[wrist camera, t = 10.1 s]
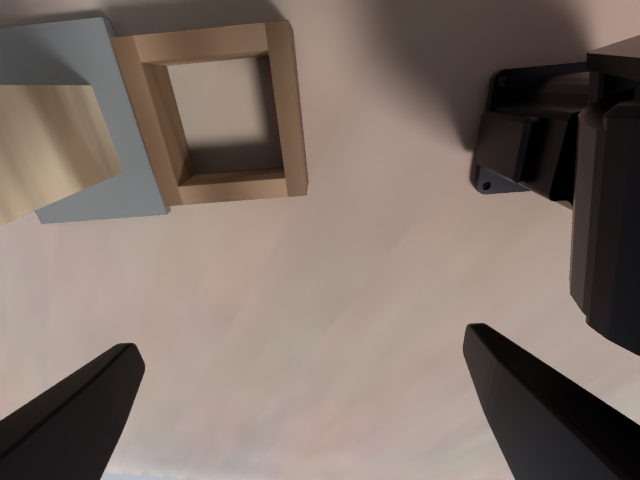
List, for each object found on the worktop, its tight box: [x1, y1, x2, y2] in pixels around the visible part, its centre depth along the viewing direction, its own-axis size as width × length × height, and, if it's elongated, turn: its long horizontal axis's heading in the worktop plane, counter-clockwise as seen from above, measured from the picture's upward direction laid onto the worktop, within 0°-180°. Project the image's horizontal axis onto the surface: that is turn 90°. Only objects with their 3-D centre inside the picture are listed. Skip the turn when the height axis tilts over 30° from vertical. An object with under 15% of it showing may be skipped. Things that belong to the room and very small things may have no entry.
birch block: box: [0, 85, 123, 226], centre depth 13 cm, size 4×4×8 cm
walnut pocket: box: [111, 20, 308, 206], centre depth 16 cm, size 8×8×2 cm
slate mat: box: [0, 17, 171, 224], centre depth 17 cm, size 8×10×1 cm
